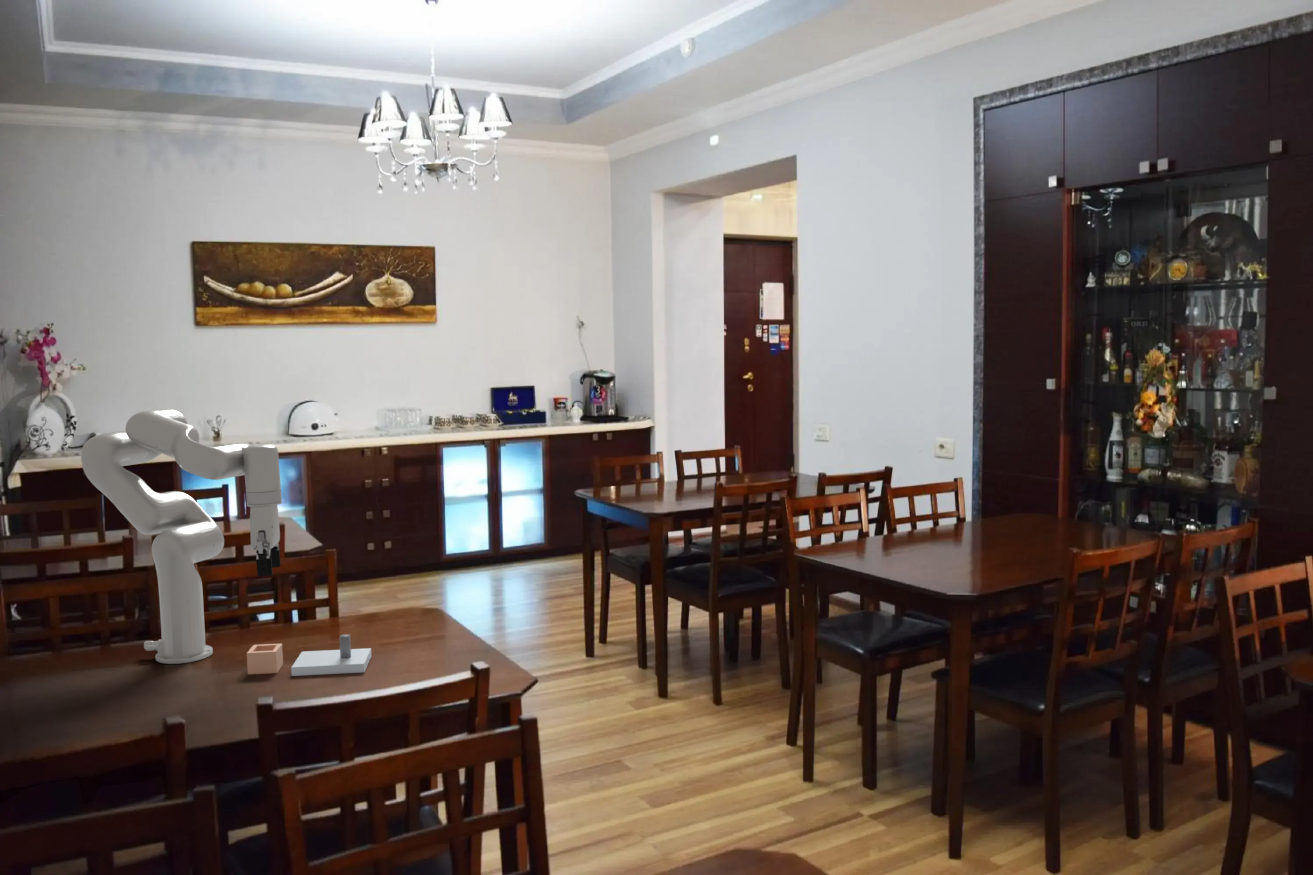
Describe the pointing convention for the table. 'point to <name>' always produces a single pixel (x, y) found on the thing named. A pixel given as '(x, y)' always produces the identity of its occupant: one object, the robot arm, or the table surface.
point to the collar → (264, 658)
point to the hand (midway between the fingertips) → (269, 571)
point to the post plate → (332, 660)
